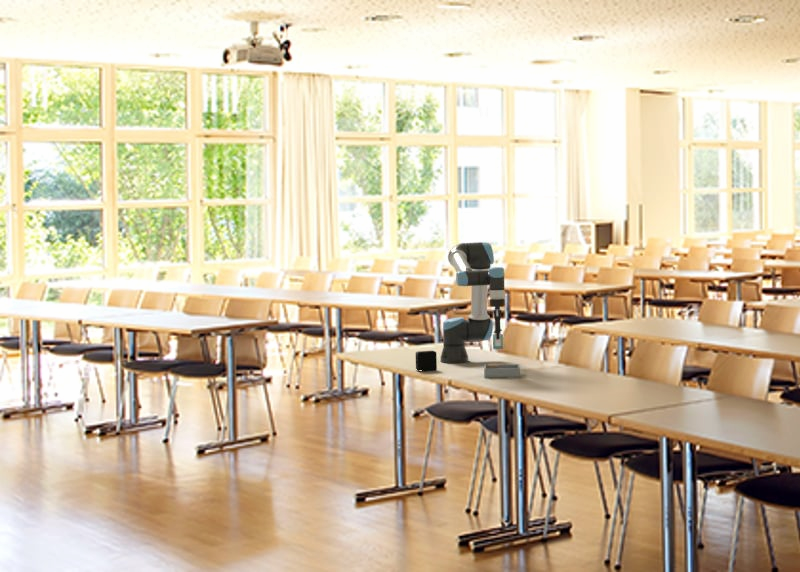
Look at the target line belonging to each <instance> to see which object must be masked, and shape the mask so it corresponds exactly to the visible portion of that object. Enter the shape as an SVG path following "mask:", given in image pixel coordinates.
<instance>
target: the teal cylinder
mask: <svg viewBox="0 0 800 572" xmlns="http://www.w3.org/2000/svg"><path fill="white" fill-rule="evenodd" d="M503 337H504V334H502V333H501V346H495V333H492V349H493V350H502V349H504V338H503Z"/></svg>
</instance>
